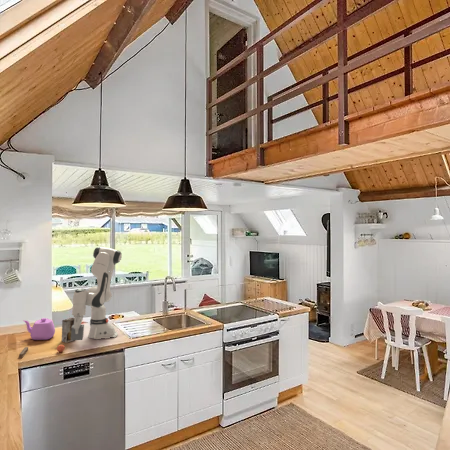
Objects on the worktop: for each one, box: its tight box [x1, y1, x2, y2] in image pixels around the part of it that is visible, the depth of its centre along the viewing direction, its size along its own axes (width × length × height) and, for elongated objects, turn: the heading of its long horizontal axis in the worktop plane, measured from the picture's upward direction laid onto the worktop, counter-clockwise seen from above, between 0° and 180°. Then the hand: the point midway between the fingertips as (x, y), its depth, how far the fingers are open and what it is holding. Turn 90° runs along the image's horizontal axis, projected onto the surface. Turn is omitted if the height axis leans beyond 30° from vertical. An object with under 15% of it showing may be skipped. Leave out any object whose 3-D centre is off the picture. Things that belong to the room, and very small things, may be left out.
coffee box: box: [61, 317, 75, 343], centre depth 266 cm, size 9×6×16 cm
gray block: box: [71, 323, 85, 341], centre depth 244 cm, size 7×7×9 cm
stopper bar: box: [18, 346, 29, 359], centre depth 235 cm, size 2×14×2 cm, turn 17°
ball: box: [56, 344, 66, 353], centre depth 241 cm, size 5×5×5 cm
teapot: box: [22, 317, 56, 341], centre depth 271 cm, size 23×21×15 cm
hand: (77, 331), depth 244 cm, fingers closed on gray block, 7 cm apart
